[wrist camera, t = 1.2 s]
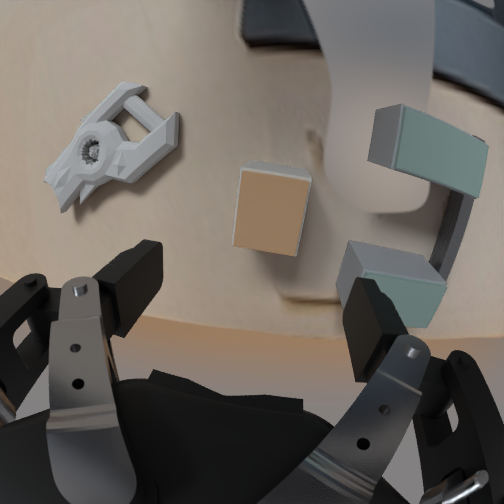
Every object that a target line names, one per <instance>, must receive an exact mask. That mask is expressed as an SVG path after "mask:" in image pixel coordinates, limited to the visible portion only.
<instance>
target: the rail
mask: <svg viewBox="0 0 504 504" xmlns="http://www.w3.org/2000/svg"><path fill="white" fill-rule="evenodd" d="M472 136H473V135H472ZM474 137H475V138H477V139H479V140H481V141H483V142H484V143H485V141H484V140H482V139H480V138H478V137H477V136H474ZM473 202H474V198H471V197H469V196H467V195H464V194H462V193H459V192H457V191H454V190H452V189H451V193H450V197H449V201H448V205H447V208H446V212H445V216H444V219H443V222H442V226H441V229H440V232H439V235H438V238H437V241H436V244H435V247H434V250H433V252H432V255H431V258H430V261H429V263H430V264H431V265H432V267H433V268H434V269H435V270H436V271H437V272H438V273H439V274H440V276H441V277H442V278H443V279H444V280H445V281H446V280H447V278H448V275H449V273H450V271H451V268H452V266H453V263H454V261H455V258H456V255H457V253H458V250H459V247H460V244H461V242H462V239H463V236H464V233H465V230H466V226H467V223H468V220H469V216H470V213H471V209H472V206H473Z"/></svg>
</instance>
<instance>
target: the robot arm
mask: <svg viewBox="0 0 504 504" xmlns="http://www.w3.org/2000/svg"><path fill="white" fill-rule="evenodd" d="M162 282H163V246H162V243H161V242H157V241H151V240H146V239H144V240H142V241H141V242H140V243H139V244H137V245H136V246H135V247H134V248H133V249H132V248H131V249H129V250H126V251H124V252H121V253H120V254H119V255H118V256H116V257H115V258H114V259H113V260H112V261H110V262H109V264H107V265H106V266H104V267H103V268H102V269H101V270H100V271H99V272H97V273H96V274H95V275H94V276H93V277H92V278H91V277H76V278H73V279H71V280H69V281H67V282H66V283H65V284H64V285H63V287H62V288H50V287H48V284H47V280H46V277H45V276H44V275H42V274H38V273H35V274H29V275H26V276H24V277H22V278H21V279H20V280H18V281H17V282H16V283H15V284H14V285H12V286H11V287H10V288H9V289H8V290H6V291H5V292H4V293H3V294H2V295H1V296H0V504H410V503H409V502H408V501H407V500H406V499H404V498H403V497H402V496H401V495H400V494H399V493H398V492H397V491H396V490H395V489H394V488H393V487H392V486H391V485H390V484H389V483H388V482H387V481H386V480H385V479H384V478H383V477H382V475H383V473H384V471H385V470H386V468H387V466H388V465H389V463H390V461H391V459H392V458H393V456H394V454H395V452H396V450H397V448H398V446H399V445H400V443H401V441H402V439H403V436H404V435H405V433H406V431H407V428H408V426H409V424H410V422H411V420H412V419H413V424H414V429H415V434H416V439H417V445H418V451H419V457H420V463H421V470H422V478H423V487H424V494H423V496H422V498H421V500H420V503H419V504H504V424H503V421H502V419H501V416H500V413H499V411H498V409H497V406H496V404H495V402H494V399H493V397H492V394H491V392H490V390H489V388H488V386H487V384H486V381H485V379H484V377H483V375H482V373H481V371H480V369H479V367H478V365H477V363H476V361H475V360H474V359H473V358H472V357H471V356H470V355H469V354H467V353H466V352H463V351H460V350H455V351H452V352H451V353H450V355H449V356H448V358H447V359H446V360H443V359H440V358H436V357H433V356H431V353H430V350H429V348H428V346H427V345H426V344H425V343H424V342H423V341H422V340H421V339H419V338H417V337H415V336H412V335H409V334H408V331H407V329H406V327H405V325H404V323H403V321H402V319H401V317H400V316H399V313H398V311H397V310H396V308H395V306H394V304H393V302H392V300H391V299H390V298H389V297H388V296H387V295H386V294H385V293H382V292H381V291H380V289H379V287H378V285H377V283H376V281H375V280H374V279H368V278H362V277H357V278H356V279H355V280H354V283H353V286H352V289H351V291H350V294H349V297H348V300H347V303H346V305H345V308H344V312H343V326H344V330H345V335H346V339H347V343H348V348H349V353H350V357H351V362H352V367H353V371H354V377H355V382H364V383H367V385H366V386H365V388H364V389H363V390H362V392H361V393H360V395H359V396H358V397H357V399H356V400H355V401H354V403H353V404H352V405H351V407H350V408H349V409H348V411H347V412H346V413H345V414H344V416H343V417H342V418H341V419H340V421H339V422H338V423H337V424H336V425H335V427H334V426H333V425H331V424H330V423H329V422H327V421H326V420H324V419H322V418H321V417H319V416H317V415H315V414H313V413H310V412H308V411H305V410H303V399H296V398H287V397H280V396H272V395H248V396H247V395H245V396H225V395H221V394H219V393H217V392H214V391H212V390H210V389H208V388H206V387H204V386H201V385H199V384H197V383H195V382H193V381H191V380H189V379H186V378H182V377H178V376H175V375H171V374H168V373H164V372H161V371H157V370H154V369H153V371H152V373H151V374H150V376H149V378H148V379H127V380H122V381H119V377H118V373H117V369H116V364H115V359H114V354H113V349H112V344H111V341H110V338H111V337H112V335H113V334H114V335H117V336H120V337H123V338H125V336H126V335H127V334H128V332H129V331H130V329H131V328H132V327H133V325H134V324H135V322H136V321H137V319H138V318H139V317H140V316H141V314H142V313H143V311H144V310H145V309H146V307H147V306H148V305H149V303H150V302H151V301H152V299H153V298H154V297H155V295H156V294H157V293H158V291H159V290H160V288H161V286H162ZM25 320H27V322H28V325H29V327H30V329H31V332H30V333H29V335H28V336H27V337H26V338H25V339H24V340H23V341H22V343H21V344H20V345H19V346H18V347H17V349H16V348H15V346H14V344H13V335H14V333H15V331H16V330H17V329H18V328H19V327H20V325H21V324H22V323H23V322H24V321H25ZM48 364H49V403H50V409H47V410H45V411H42V412H39V413H36V414H33V415H31V416H28V417H25V418H22V419H19V420H16V421H15V418H16V411H17V410H18V408H19V407H20V405H21V403H22V402H23V400H24V399H25V397H26V395H27V394H28V393H29V391H30V390H31V388H32V387H33V385H34V384H35V382H36V381H37V379H38V378H39V376H40V375H41V373H42V372H43V371H44V369H45V368H46V366H47V365H48ZM453 403H454V406H455V409H456V412H457V414H458V419H459V421H458V426H457V428H456V430H455V431H454V432H452V428H451V424H450V421H449V418H448V414H447V410H448V409H449V408H450V406H451V405H452V404H453Z"/></svg>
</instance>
